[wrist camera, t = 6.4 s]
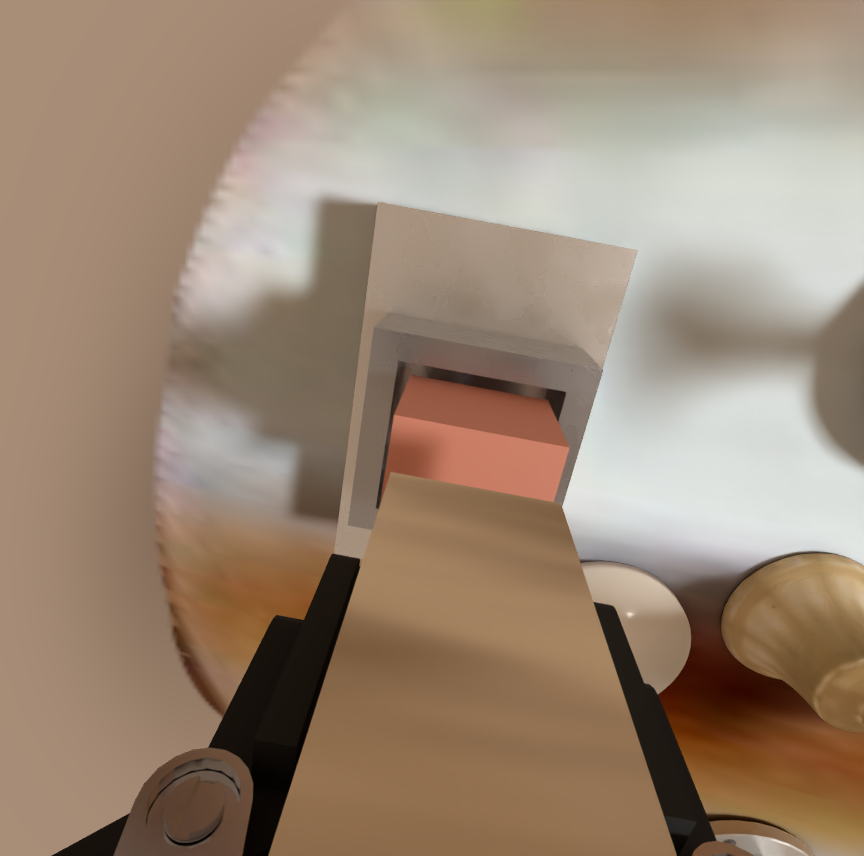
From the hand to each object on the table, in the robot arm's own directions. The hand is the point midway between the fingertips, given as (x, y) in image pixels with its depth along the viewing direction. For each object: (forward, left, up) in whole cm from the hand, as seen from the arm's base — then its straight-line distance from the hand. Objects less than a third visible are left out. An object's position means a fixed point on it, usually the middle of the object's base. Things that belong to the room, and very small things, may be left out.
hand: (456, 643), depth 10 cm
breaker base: (0, 0, -16) cm, 16 cm away
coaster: (-15, -5, -16) cm, 23 cm away
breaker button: (0, 0, -10) cm, 10 cm away
